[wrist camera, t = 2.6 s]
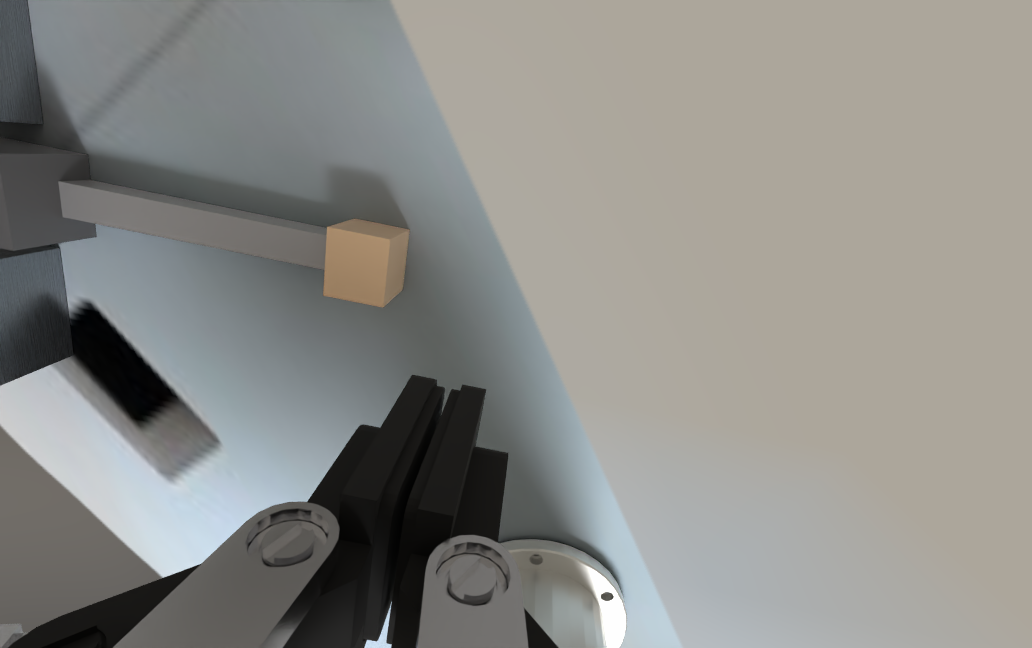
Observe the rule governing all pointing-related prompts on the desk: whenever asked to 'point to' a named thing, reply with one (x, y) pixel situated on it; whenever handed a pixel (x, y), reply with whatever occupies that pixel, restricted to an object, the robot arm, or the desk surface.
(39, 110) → the block
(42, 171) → the lever
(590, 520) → the desk surface
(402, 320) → the desk surface
